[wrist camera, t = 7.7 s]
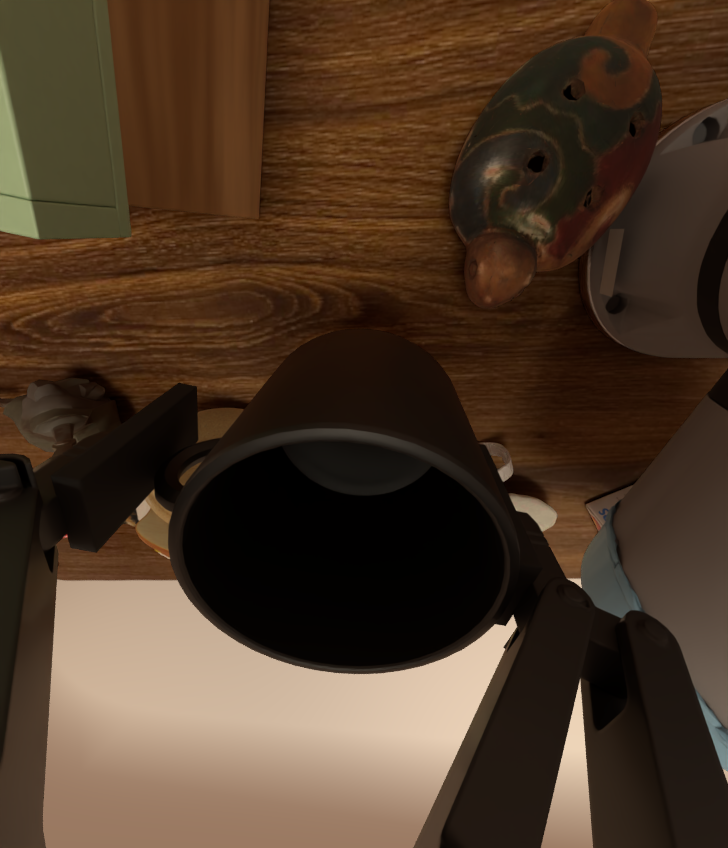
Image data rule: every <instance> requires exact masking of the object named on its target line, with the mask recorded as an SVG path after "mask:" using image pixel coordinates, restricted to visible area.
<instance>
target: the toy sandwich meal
mask: <svg viewBox="0 0 728 848" xmlns="http://www.w3.org/2000/svg"><path fill="white" fill-rule="evenodd" d="M243 411H244V409H239V408H215V409H208V410H203V411H199V412H198V441H197V442H196V443H198V442H202V441H206V440H210V439H215V438H222V437H223V435H224V434H225V433H226V432H227V430H228V429H229V428H230V427H231V425H232V424H233V423H234V422H235V420H236V419H237V418H238V417H239V415H240V414H241V413H242V412H243ZM201 463H202V462H201ZM201 463H198V464H196V465H195V466H193V467H191V468H190V469H188V470H187V471H186V472H185V473H184V474H183V475H182V476H181V477H180V479H179V482H180V483H181V484H182V485H183V486H184V485H185V483H186V481H187V480H188V479H189V477H190V476H191V475H192V474H193V473H194V471H195V470H196V469H197V468H198V466H199V465H200V464H201ZM145 501H146V502H147V504H148V505H149V506H150V510H149V512H148V513H147V514H146V515H145V516H144V517H143V518H142V519H141V520H140V521H139V522H138V523H137V524H136V527H135V528H136V531H137V534H138V536H139V537H140V539H141V540H142V541H143V542H145V543H146V544H147V545H149V546H150V547H152V548H154V549H155V551H156V552H160V553H162V554H163V555H165V556H167V557H169V558H170V555H169V550H168V526H169V521H170V518H171V514H172V512H170V511H168V510H166V509H165V508H164V507H163V506H162V505H160V504H159V503H158V501H157V500H156V498H155V492H154V490H153V491H152V492H151V493H150V494H149V495H148V496H147V497H146V499H145Z"/></svg>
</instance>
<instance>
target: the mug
mask: <svg viewBox="0 0 728 848" xmlns="http://www.w3.org/2000/svg"><path fill="white" fill-rule="evenodd" d="M201 462H202V463H201ZM198 463H201V464H200V465H199V466H198V468H197V469H196V470H195V471H194V473H193V474H192V475H191V476H190V477H189V479H188V480H187V481H186V483H185V485H184V486H183V485H182V484H181V483H180V482H179V479H180V477H181V476H182V475H183V474H184V473H185V472H186V471H187V470H188V469H190V468H191V467H193V466H195V465H196V464H198ZM154 492H155V498H156V500H157V501H158V503H159V504H160V505H162V506H163V507H164V508H165V509H166V510H168V511H170V512H172V514H171V518H170V521H169V526H168V550H169V555H170V561H171V565H172V568H173V570H174V573H175V575H176V578H177V580H178V582H179V584H180V586H181V587H182V589H183V590H184V592H185V594H186V595H187V597H188V599H189V600H190V601H191V602H192V603H193V605H194V606H195V607H196V608H197V609H198V610H199V611H200V613H201V614H202V615H203V616H204V617H205V618H207V619H208V620H209V621H210V622H211V623H212V624H213V625H215V626H216V627H217V628H218V629H220V630H221V631H222V632H224V633H226V634H227V635H228V636H230V637H231V638H233V639H234V640H236V641H238V642H239V643H241V644H243V645H245V646H247V647H249V648H250V649H252V650H254V651H257V652H259V653H261V654H264V655H266V656H269V657H271V658H274V659H276V660H280V661H282V662H285V663H289V664H292V665H295V666H300V667H304V668H309V669H314V670H319V671H327V672H334V673H348V674H373V673H386V672H394V671H400V670H406V669H411V668H415V667H419V666H423V665H426V664H429V663H432V662H435V661H438V660H441V659H443V658H446V657H448V656H450V655H452V654H454V653H456V652H458V651H460V650H462V649H464V648H465V647H467V646H468V645H470V644H471V643H473V642H474V641H476V640H477V639H478V638H480V637H481V636H482V635H483V634H485V633H486V632H487V631H488V630H489V629H490V628H491V627H492V626H493V625H494V624H495V623H496V622H497V621H498V619H499V618H500V617H501V615H502V614H503V613H504V611H505V610H506V608H507V607H508V605H509V603H510V601H511V599H512V597H513V595H514V592H515V589H516V585H517V581H518V577H519V570H520V548H519V543H518V538H517V533H516V530H515V527H514V524H513V521H512V519H511V517H510V514H509V512H508V510H507V508H506V505H505V503H504V501H503V498H502V496H501V494H500V492H499V489H498V487H497V485H496V482H495V480H494V478H493V476H492V473H491V471H490V469H489V466H488V464H487V462H486V460H485V457H484V455H483V453H482V450H481V448H480V446H479V444H478V441H477V439H476V437H475V434H474V432H473V430H472V428H471V425H470V423H469V421H468V418H467V416H466V414H465V412H464V409H463V407H462V405H461V402H460V400H459V398H458V396H457V393H456V391H455V389H454V387H453V384H452V382H451V380H450V378H449V377H448V375H447V374H446V372H445V371H444V369H443V368H442V367H441V366H440V364H439V363H438V362H437V361H436V360H435V359H434V358H433V357H432V356H431V355H430V354H429V353H427V352H426V351H424V350H423V349H422V348H420V347H419V346H417V345H416V344H414V343H412V342H410V341H408V340H406V339H404V338H402V337H400V336H397V335H394V334H391V333H387V332H383V331H378V330H371V329H347V330H340V331H335V332H330V333H327V334H324V335H322V336H319V337H316V338H314V339H312V340H310V341H308V342H307V343H305V344H303V345H301V346H300V347H299V348H297V349H296V350H295V351H294V352H292V353H291V354H290V355H289V356H288V357H287V358H286V359H285V360H284V361H283V363H282V364H281V365H280V366H279V367H278V368H277V370H276V371H275V372H274V373H273V375H272V376H271V377H270V378H269V380H268V381H267V382H266V383H265V384H264V386H263V387H262V388H261V389H260V391H259V392H258V393H257V394H256V396H255V397H254V398H253V399H252V401H251V402H250V403H249V404H248V406H247V407H246V408H245V409H244V411H243V412H242V413H241V414H240V415H239V417H238V418H237V419H236V420H235V422H234V423H233V424H232V425H231V427H230V428H229V429H228V430H227V432H226V433H225V434H224V435H223V437H222V438H215V439H210V440H206V441H202V442H198V443H195V444H193V445H190V446H188V447H186V448H184V449H181V450H180V451H178V452H176V453H175V454H173V455H172V456H171V457H169V458H168V459H167V460H165V461H164V462H163V463H162V465H161V466H160V467H159V469H158V471H157V472H156V474H155V477H154Z"/></svg>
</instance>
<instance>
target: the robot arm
mask: <svg viewBox="0 0 728 848" xmlns="http://www.w3.org/2000/svg"><path fill="white" fill-rule="evenodd" d="M579 288H580V294H581V298H582V302H583V305H584V307H585V310H586V312H587V314H588V316H589V317H590V319H591V321H592V322H593V323H594V325H595V326H596V327H597V328H598V329H599V330H600V331H601V332H602V333H603V334H604V335H605V336H607V337H608V338H610V339H611V340H613V341H615V342H616V343H618V344H620V345H623V346H625V347H627V348H629V349H631V350H634V351H636V352H639V353H643V354H647V355H653V356H659V357H667V358H728V99H725V100H723V101H720V102H717V103H715V104H712V105H710V106H707V107H705V108H702V109H700V110H697V111H695V112H693V113H691V114H689V115H688V116H686V117H684V118H682V119H680V120H679V121H677V122H675V123H674V124H672V125H670V126H669V127H668V128H666V129H665V130H663V131H662V132H661V133H659V135H658V139H657V143H656V146H655V149H654V152H653V155H652V157H651V160H650V163H649V165H648V168H647V170H646V172H645V174H644V176H643V178H642V180H641V182H640V184H639V186H638V187H637V189H636V191H635V192H634V194H633V196H632V197H631V199H630V201H629V202H628V204H627V205H626V206H625V208H624V209H623V211H622V212H621V213H620V215H619V216H618V217H617V219H616V220H615V221H614V222H613V224H612V225H611V226H610V227H609V228H608V230H607V231H606V232H605V233H604V234H603V235H602V236H601V237H600V238H599V240H598V241H597V242H596V243H595V244H594V245H593V246H592V247H591V248H590V249H588V250H587V251H586V252H585V253H584V254H583V255H581V256H580V260H579ZM197 441H198V411H197V386H192V385H187V384H182V383H178V384H177V385H175V386H174V387H172V388H171V389H170V390H168V391H167V392H166V393H164V394H163V395H161V396H160V397H159V398H157V399H156V400H154V401H153V402H152V403H150V404H149V405H148V406H146V407H145V408H143V409H142V410H141V411H139V412H138V413H136V414H135V415H134V416H132V417H131V418H130V419H128V420H127V421H125V422H124V423H123V424H121V425H120V426H118V427H117V428H116V429H114V430H113V431H112V432H110V433H108V432H103V431H101V432H99V433H96V434H93V435H90V436H88V437H85V438H84V439H82V440H81V441H79V442H78V443H76V444H75V445H73V447H72V448H69V449H67V450H66V451H64V452H63V453H62V455H59V456H57V457H56V458H54V459H53V460H51V461H50V462H48V463H47V464H45V465H44V466H42V467H41V468H39V469H38V470H37V471H35V472H33V468H32V465H31V462H30V459H29V458H27V457H26V456H24V455H19V454H0V848H46V847H45V840H44V833H43V799H44V784H45V767H46V750H47V734H48V717H49V701H50V700H49V699H50V684H51V668H52V651H53V633H54V618H55V600H56V585H57V568H58V550H57V546H56V544H57V543H58V542H59V541H60V540H61V539H62V538H63V537H64V536H65V535H66V534H67V536H68V540H69V543H70V547H71V548H74V549H80V550H85V551H91V552H96V553H97V551H98V550H99V549H100V548H101V547H102V546H103V545H104V544H105V543H106V542H107V540H108V539H109V538H110V537H111V536H112V535H113V534H114V533H115V532H116V530H117V529H118V528H119V527H120V526H121V525H122V524H123V523H124V522H125V521H126V519H127V518H128V517H129V516H130V515H131V514H132V513H133V512H134V511H135V510H136V508H137V507H138V506H139V505H140V504H141V503H142V502H143V501H144V500H145V499H146V497H147V496H148V495H149V494H150V493H151V492H152V491H153V490H154V477H155V474H156V472H157V471H158V469H159V467H160V466H161V465H162V463H163V462H164V461H165V460H167V459H168V458H169V457H171V456H172V455H173V454H175V453H176V452H178V451H180V450H181V449H184V448H186V447H188V446H190V445H193V444H195V443H196V442H197ZM478 444H479V443H478ZM479 446H480V448H481V450H482V453H483V455H484V457H485V460H486V462H487V464H488V466H489V469H490V471H491V473H492V476H493V478H494V480H495V482H496V485H497V487H498V489H499V492H500V494H501V496H502V498H503V501H504V503H505V505H506V508H507V510H508V512H509V514H510V517H511V519H512V521H513V524H514V527H515V530H516V533H517V538H518V543H519V548H520V570H519V577H518V581H517V585H516V589H515V592H514V595H513V597H512V599H511V601H510V603H509V605H508V607H507V608H506V610H505V611H504V613H503V614H502V615H501V617H500V618H499V619H498V621H497V622H496V623H495V624H498V625H504V626H506V624H507V623H508V621H509V620H510V618H511V617H512V615H514V618H515V621H516V624H517V628H516V630H515V631H514V632H513V634H512V635H511V637H510V638H509V640H508V641H507V643H506V644H505V646H504V648H505V651H504V654H503V656H502V658H501V660H500V662H499V665H498V667H497V669H496V671H495V673H494V675H493V678H492V679H491V682H490V684H489V686H488V688H487V690H486V692H485V695H484V697H483V699H482V701H481V703H480V705H479V708H478V710H477V712H476V714H475V716H474V718H473V721H472V723H471V725H470V727H469V729H468V731H467V733H466V736H465V738H464V740H463V742H462V744H461V746H460V749H459V751H458V753H457V755H456V757H455V759H454V761H453V764H452V766H451V768H450V770H449V772H448V775H447V776H446V779H445V781H444V783H443V785H442V787H441V790H440V792H439V794H438V796H437V798H436V800H435V803H434V805H433V807H432V809H431V811H430V813H429V816H428V818H427V820H426V822H425V824H424V826H423V828H422V830H421V833H420V835H419V837H418V839H417V841H416V843H415V846H414V848H541V843H542V839H543V835H544V831H545V827H546V823H547V818H548V813H549V810H550V805H551V801H552V797H553V792H554V788H555V783H556V780H557V775H558V771H559V767H560V762H561V758H562V754H563V750H564V745H565V741H566V737H567V732H568V728H569V724H570V719H571V715H572V711H573V707H574V702H575V698H576V694H577V689H578V685H579V681H580V679H581V693H582V705H583V719H584V732H585V745H586V759H587V771H588V784H589V798H590V811H591V824H592V837H593V848H728V783H727V780H726V778H725V774H724V772H723V769H725V770H726V771H728V369H727V370H726V372H725V373H724V374H723V375H722V377H721V378H720V379H719V380H718V382H717V383H716V384H715V385H714V387H713V388H712V389H711V390H710V391H709V392H708V393H707V394H706V396H705V397H704V398H703V399H702V401H701V402H700V403H699V404H698V406H697V407H696V408H695V409H694V411H693V412H692V413H691V414H690V416H689V417H688V418H687V419H686V420H685V422H684V423H683V424H682V425H681V427H680V428H679V429H678V430H677V432H676V433H675V434H674V435H673V437H672V438H671V439H670V440H669V442H668V443H667V444H666V445H665V447H664V448H663V449H662V450H661V452H660V453H659V454H658V455H657V457H656V458H655V459H654V460H653V462H652V463H651V464H650V465H649V467H648V468H647V469H646V470H645V472H644V473H643V474H642V475H641V476H640V478H639V479H638V480H637V481H636V483H635V484H634V485H633V486H632V488H631V489H630V490H629V491H628V493H627V494H626V495H625V496H624V498H623V499H621V500H619V501H618V502H617V503H616V504H615V505H614V506H612V507H611V508H610V509H609V511H608V513H607V516H606V521H605V523H604V524H603V526H602V527H601V529H600V530H599V532H598V533H597V535H596V536H595V537H594V539H593V540H592V542H591V543H590V545H589V546H588V548H587V550H586V552H585V554H584V557H583V560H582V565H581V584H582V588H580V587H579V586H578V585H577V584H575V583H574V582H572V581H570V580H568V579H566V577H565V575H564V573H563V571H562V569H561V567H560V565H559V564H558V562H557V560H556V558H555V556H554V554H553V552H552V550H551V548H550V547H548V545H549V544H548V542H547V540H546V539H545V537H544V535H543V533H542V531H541V529H540V527H539V525H538V524H537V522H536V521H535V520H534V519H533V518H532V517H531V516H530V515H529V514H528V513H525V512H520V511H516V509H515V507H514V505H513V503H512V500H511V498H510V496H509V494H508V492H507V490H506V488H505V485H504V483H503V481H502V479H501V477H500V475H499V473H498V470H497V468H496V466H495V464H494V462H493V460H492V458H491V456H490V453H489V451H488V449H487V447H486V445H484V444H479ZM722 768H723V769H722Z"/></svg>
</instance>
